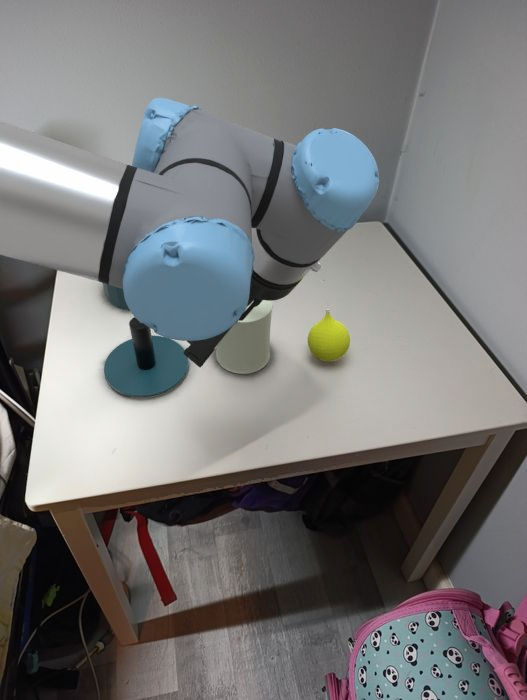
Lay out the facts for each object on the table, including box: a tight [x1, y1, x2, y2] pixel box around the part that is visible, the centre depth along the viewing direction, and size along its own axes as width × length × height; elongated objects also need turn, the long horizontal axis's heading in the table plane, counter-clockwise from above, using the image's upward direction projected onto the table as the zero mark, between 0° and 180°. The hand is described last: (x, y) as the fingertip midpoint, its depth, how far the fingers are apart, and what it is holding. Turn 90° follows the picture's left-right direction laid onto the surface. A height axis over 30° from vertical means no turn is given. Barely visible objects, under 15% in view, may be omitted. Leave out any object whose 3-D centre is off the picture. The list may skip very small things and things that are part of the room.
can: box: [215, 300, 274, 375], centre depth 82 cm, size 9×9×12 cm
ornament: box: [307, 302, 351, 362], centre depth 83 cm, size 7×7×10 cm
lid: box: [103, 316, 190, 399], centre depth 79 cm, size 14×14×10 cm
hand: (223, 326), depth 72 cm, fingers open, 13 cm apart
